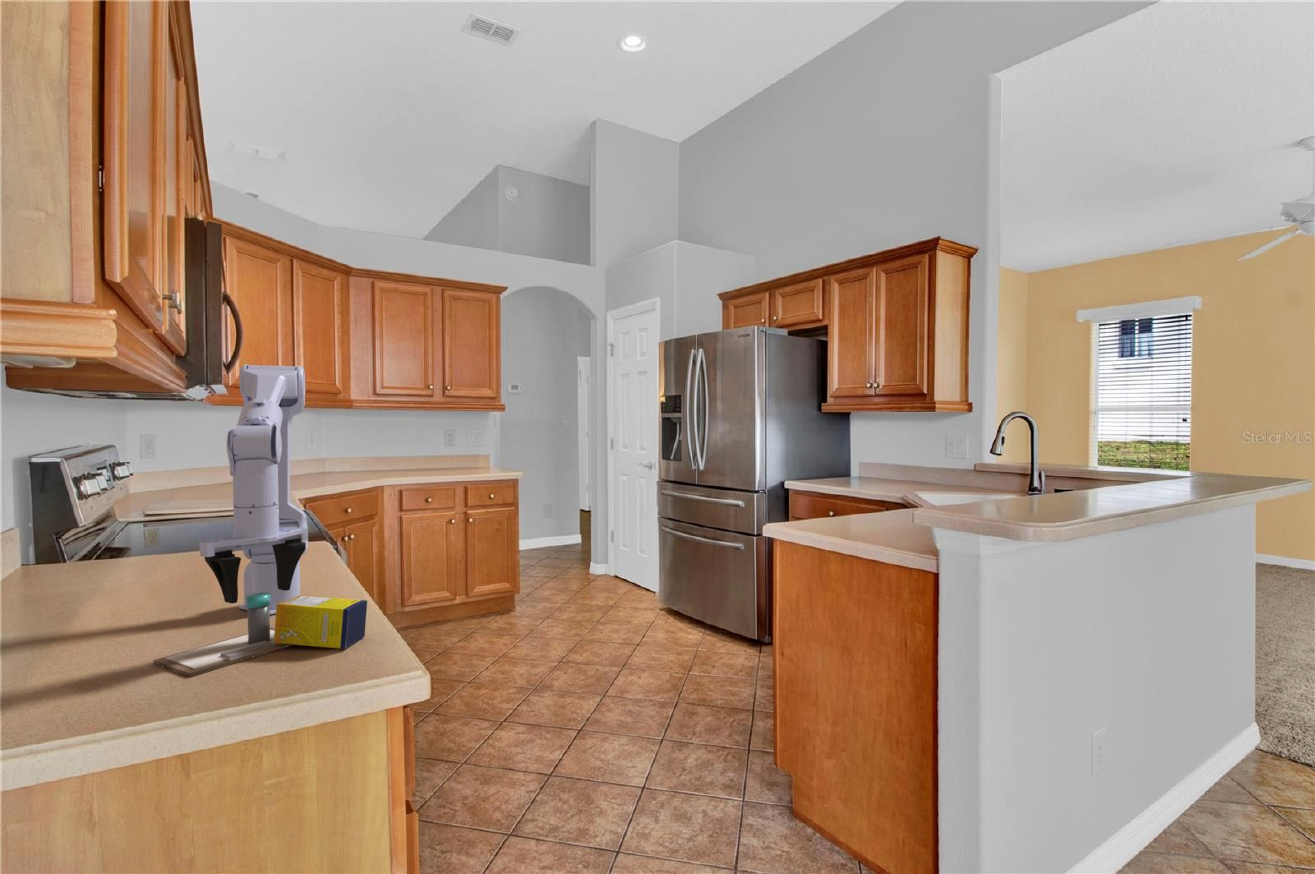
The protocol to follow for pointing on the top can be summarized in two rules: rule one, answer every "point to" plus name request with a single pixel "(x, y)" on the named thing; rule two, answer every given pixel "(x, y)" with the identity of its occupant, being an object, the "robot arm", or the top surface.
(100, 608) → the top surface
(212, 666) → the clipboard
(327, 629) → the supplement box
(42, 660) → the top surface
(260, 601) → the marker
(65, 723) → the top surface
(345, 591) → the top surface
